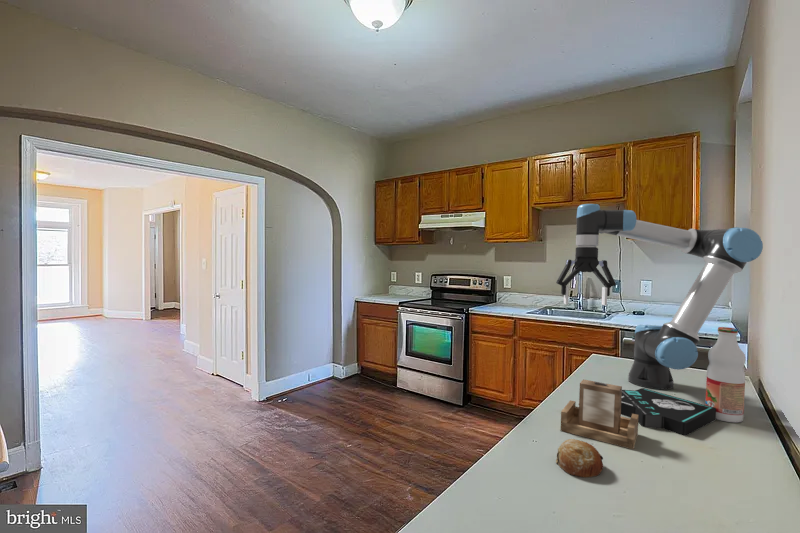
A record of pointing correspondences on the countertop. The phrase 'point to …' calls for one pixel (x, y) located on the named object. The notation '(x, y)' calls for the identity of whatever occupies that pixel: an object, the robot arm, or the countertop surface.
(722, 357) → the fruit juice
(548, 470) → the countertop surface
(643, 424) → the wall plaque
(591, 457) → the bread roll
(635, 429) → the wooden tray
